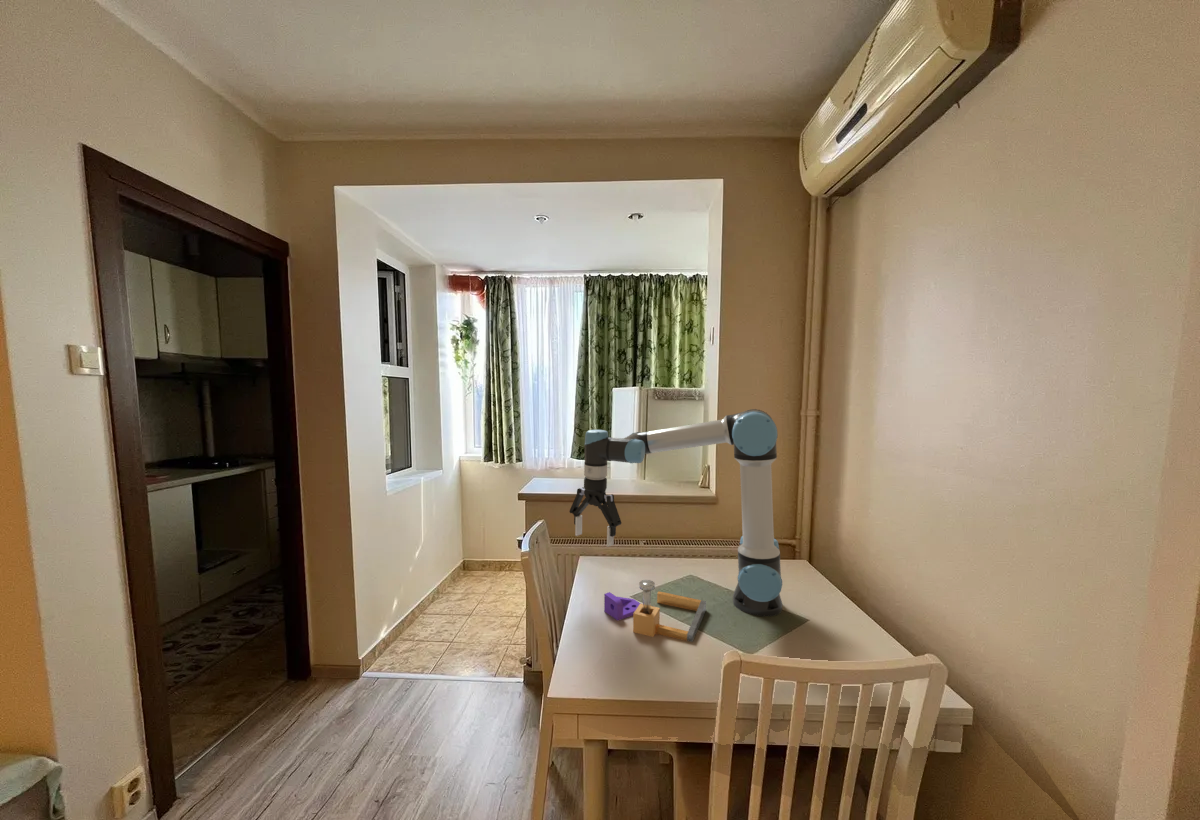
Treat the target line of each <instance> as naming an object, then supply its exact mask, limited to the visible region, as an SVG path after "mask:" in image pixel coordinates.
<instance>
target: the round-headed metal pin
mask: <svg viewBox="0 0 1200 820" xmlns="http://www.w3.org/2000/svg"><path fill="white" fill-rule="evenodd" d="M638 586H639V587H638V588H639V589H640V590H641V591H642V604H643V613H644V614H649V615H650V614H651V606H652V604H651V603H652V602H651V600H652V599H651V598H652V597H651V595H652V592H653V590H656V589H655V586H656V584H655V581H653V580H651V579H642V580H639V585H638Z"/></svg>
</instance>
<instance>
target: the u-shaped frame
mask: <svg viewBox="0 0 1200 820" xmlns="http://www.w3.org/2000/svg"><path fill="white" fill-rule="evenodd" d="M656 596H657V597H656V604H662V605H665V606H671V607H676V608H680V609H686V610H691V611H695V614H694V617H693V619H692V622H691V623H690V626H689V629H688V630H683V629H679V628H676V627H672V626H667V625H664V624H660V623H659V624H657V625H656V630H655V635H661V636H664V637H669V638H673V639H677V640H682V641H687V642H691V643H693V642H694V639H695V636H696V635H697V632H698V630H699V627H700V625H701V623H702V621H703V618H704V616H705V613H706V611H707V600H701V599H698V598H694V597H693V598H691V597H687V596H682V595H678V594H673V593H669V592H664V591H657V594H656Z"/></svg>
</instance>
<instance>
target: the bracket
mask: <svg viewBox="0 0 1200 820" xmlns="http://www.w3.org/2000/svg"><path fill="white" fill-rule="evenodd" d="M603 604H604V606H603V607H604V608H603V609H604V610H603V611H604V612H605V613H606V614H608V615H609V616H610V617H611V618H613V619H614V620H616V621H617V622H618V621H620V620H624V619H626V618H629V617H633V613H634V612H635V610H636V609H637V607H638V606H639V605H640V604H642V603H641V602H639V601H637V600H636V599H634V598H630V597H623V596H622V597H621V596H616V595H615V594H613V593H612V592H610V591H609V592H605V593H604V603H603Z"/></svg>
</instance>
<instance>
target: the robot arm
mask: <svg viewBox="0 0 1200 820" xmlns="http://www.w3.org/2000/svg"><path fill="white" fill-rule="evenodd" d="M777 439H778V428H777V425H776V423H775V421H774V420H773V418H772V417H771V415H769V414H768V413H767V412H765V411H763V410H760V409H756V408H752V409H747V410H744V411H741V412H738V413H734V414H728V415H725V416H724V417H723V418H722V419H717V420H711V421H703V422H698V423H693V424H687V425H679V426H674V427H668V428H667V427H666V428H662V429H656V430H654V429H653V430H649V431H643V432H639V431H636V432H632V433H631V434H629V435H627V436H625V437H623V438H621V437H609V432H608V431H607V430H605V429H589V430H587V431H586V432H585V437H584V463H583V464H584V468H583V469H584V471H583V474H584V478H583V487H580V488H579V487H578V488H577V490H576V496H575V497H574V500H573V501H572V504H571V507H570V509H569V513H570V514H572V515H573V523H574V526H575V527H574V529H575V530H574V532H575V534H574V536H576V537H578V536H580V535H581V536H582V535H583V515H582V513H583V512H584V510H585V509H586V508H587V507H588V506H589V505H590V506H593V507H597V508H598V510H600V511H601V513H602V515H603V516H604V518H605V520H606V523H607V524H608V526H607V527H606V529H607V530H606V547H611V546H614V544H615V543H614V542H615V537H616V534H617V527H618V526H620V525H622V520H621V517H620V514H619V511H618V509H617V505H616V503H615V495H614V494H613V493H612V494H607V493H606V490H607V486H608V478H607V477H608V461H609V462H619V463H629V464H641V463H643V462H644V460H645V456H646V455H647V454H648V455H650V454H654V453H660V452H661V453H662V452H667V451H676V450H683V449H688V448H696V447H698V448H699V447H704V446H710V445H711V446H712V445H719V444H725V443H726V444H728V445H730V446H733V459H734V460H735V461H736V462H738V464H739V471H740V472H739V476H740V500H741V501H740V503H741V505H740V506H741V523H742V524H741V525H742V526H741V528H742V532H741V533H742V536H740V540H739V541H740V542H739V546H738V547H737V562H738V564H737V566H738V575H737V583H736V586H735V589H734V592H733V594H732V604H733V605H734V607H736V608H737V609H738V610H739V611H741V612H743V613H745V614H749V615H753V616H756V617H757V616H758V617H774V616H778V615H779V613H780V614H781V613H782V612H783V602H782V601H783V600H782V598H781V595H780V593H781V592H782V587H783V580H782V575H781V574H782V573H781V572H782V571H781V551H780V546H779V541H778V540H777V539H776V538H775V537H774V535H775V531H774V530H775V529H774V507H773V506H774V505H773V503H774V502H773V474H772V473H773V472H772V464H773V463H774V462H775V461H776V460H777V459H778V458H777V457H778V451H777V448H778V447H777ZM584 497H585V498H584ZM583 498H584V499H583ZM582 500H583V501H582ZM581 502H582V503H581ZM781 611H782V612H781Z"/></svg>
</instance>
